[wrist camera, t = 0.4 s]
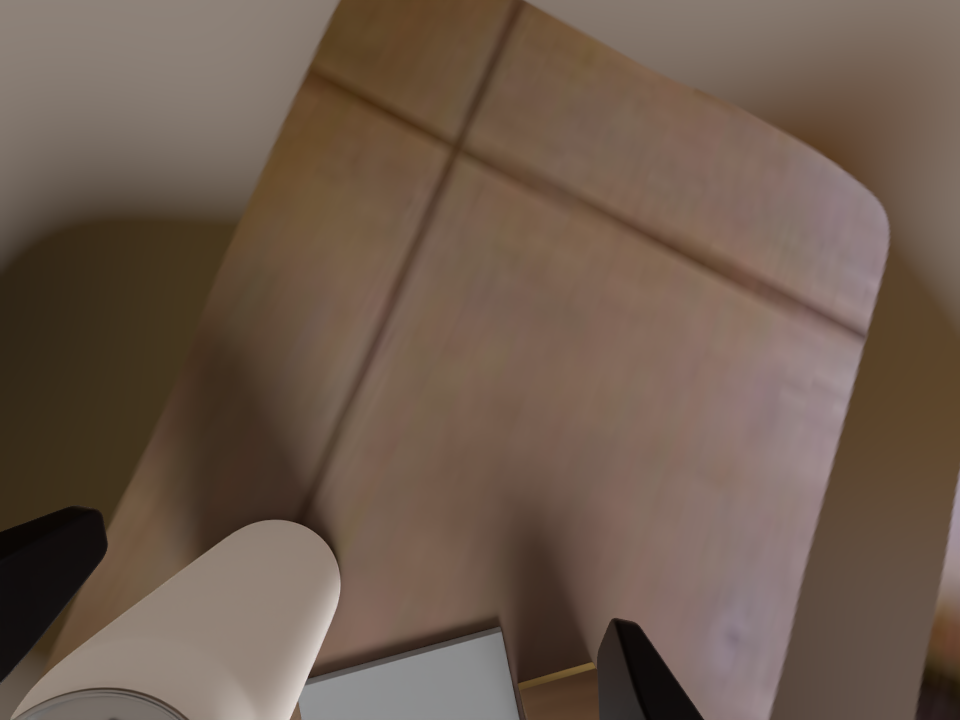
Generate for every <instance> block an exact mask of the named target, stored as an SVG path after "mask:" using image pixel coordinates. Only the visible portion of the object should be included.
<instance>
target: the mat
mask: <svg viewBox="0 0 960 720" xmlns="http://www.w3.org/2000/svg"><path fill="white" fill-rule="evenodd" d="M298 702H299V707H300V712H301V717H302V720H519V715H518V710H517V705H516V700H515V696H514V691H513V686H512V681H511V676H510V671H509V666H508V661H507V656H506V652H505V647H504V642H503V637H502V632H501V628H500V627H496V628H493V629H489V630H485V631H482V632H478V633H474V634H471V635H467V636H463V637H460V638H456V639H452V640H449V641H445V642H441V643H438V644H434V645H430V646H427V647H423V648H419V649H416V650H412V651H408V652H405V653H401V654H397V655H394V656H390V657H386V658H383V659H379V660H375V661H372V662H368V663H364V664H361V665H357V666H353V667H350V668H346V669H342V670H339V671H335V672H331V673H328V674H324V675H320V676H317V677H313V678H309V679H307V680H306V682H305V685H304V687H303V689H302V692H301V694H300V696H299V699H298Z"/></svg>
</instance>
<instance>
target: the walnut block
mask: <svg viewBox="0 0 960 720" xmlns="http://www.w3.org/2000/svg"><path fill="white" fill-rule="evenodd" d="M518 687H519V692H520V697H521V702H522V707H523V712H524V717H525V720H599V700H598V675H597V669H596V667H595V666H594V664H593V662H591V663H587V664H584V665H580V666H577V667H573V668H570V669H566V670H563V671H559V672H556V673H552V674H549V675H546V676H542V677H539V678H535V679H532V680H528V681H525V682H521V683H518Z"/></svg>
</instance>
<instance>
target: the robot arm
mask: <svg viewBox="0 0 960 720" xmlns="http://www.w3.org/2000/svg"><path fill="white" fill-rule="evenodd" d="M107 547H108V542H107V536H106V531H105V526H104V520H103V516H102V513H101V512H100V511H99V510H97V509H94V508H89V507H84V506H78V505H77V506H70V507H67V508H64V509H61V510H58V511H56V512H53V513H50V514H47V515H45V516H42V517H39V518H37V519H34V520H31V521H28V522H26V523H23V524H21V525H18V526H15V527H12V528H10V529H7V530H4V531H2V532H0V684H1V683H2V682H3V681H4V680H5V679H6V677H7V676H8V675H9V674H10V673H11V672H12V671H13V670H14V668H15V667H16V666H17V665H18V664H19V663H20V662H21V661H22V660H23V659H24V657H25V656H26V655H27V654H28V653H29V652H30V650H31V649H32V648H33V647H34V646H35V645H36V643H37V642H38V641H39V640H40V638H41V637H42V636H43V635H44V634H45V632H46V631H47V630H48V628H49V627H50V626H51V625H52V623H53V622H54V621H55V619H56V618H57V617H58V616H59V614H60V613H61V612H62V611H63V609H64V608H65V607H66V605H67V604H68V603H69V602H70V600H71V599H72V598H73V596H74V595H75V594H76V593H77V591H78V590H79V589H80V588H81V586H82V585H83V584H84V582H85V581H86V580H87V579H88V577H89V576H90V575H91V573H92V572H93V571H94V570H95V568H96V567H97V566H98V564H99V563H100V562H101V560H102V559H103V557H104V556H105V554H106V551H107ZM597 675H598V700H599V720H704V719H703V717H702V716H701V714H700V713H699V712H698V710H697V709H696V707H695V706H694V704H693V703H692V701H691V700H690V698H689V697H688V696H687V694H686V693H685V691H684V690H683V688H682V687H681V685H680V684H679V682H678V681H677V680H676V678H675V677H674V675H673V674H672V672H671V671H670V669H669V668H668V666H667V665H666V664H665V662H664V661H663V659H662V658H661V656H660V655H659V653H658V652H657V650H656V649H655V648H654V646H653V645H652V643H651V642H650V640H649V639H648V637H647V636H646V634H645V633H644V632H643V630H642V629H641V627H640V626H639V625H638V624H637V623H635V622H633V621H628V620H623V619H618V618H614V619H612V620H611V621H610V623H609V625H608V628H607V630H606V633H605V635H604V638H603V640H602V643H601V645H600V647H599V651H598V657H597Z"/></svg>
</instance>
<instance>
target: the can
mask: <svg viewBox="0 0 960 720" xmlns="http://www.w3.org/2000/svg"><path fill="white" fill-rule="evenodd" d="M339 595H340V573H339V568H338V564H337V561H336V559H335V557H334V555H333V553H332V551H331V549H330V548H329V546H328V545H327V544H326V542H325V541H324V540H323V539H322V538H321V537H320V536H319V535H317V534H316V533H315V532H313V531H312V530H310V529H309V528H307V527H305V526H303V525H300V524H298V523H294V522H291V521H285V520H265V521H260V522H256V523H253V524H250V525H247V526H245V527H243V528H241V529H239V530H237V531H235V532H234V533H232V534H231V535H229V536H228V537H226V538H225V539H224V540H222V541H221V542H219V543H218V544H217V545H215V546H214V547H212V548H211V549H210V550H208V551H207V552H206V553H204V554H203V555H202V556H200V557H199V558H197V559H196V560H195V561H193V562H192V563H191V564H189V565H188V566H187V567H185V568H184V569H183V570H181V571H180V572H178V573H177V574H176V575H174V576H173V577H172V578H170V579H169V580H168V581H166V582H165V583H164V584H162V585H161V586H160V587H158V588H157V589H156V590H154V591H153V592H152V593H150V594H149V595H147V596H146V597H145V598H143V599H142V600H141V601H139V602H138V603H137V604H135V605H134V606H133V607H131V608H130V609H129V610H127V611H126V612H125V613H123V614H122V615H121V616H119V617H118V618H117V619H115V620H114V621H113V622H111V623H110V624H109V625H107V626H106V627H105V628H103V629H102V630H101V631H99V632H98V633H97V634H95V635H94V636H93V637H91V638H90V639H89V640H87V641H86V642H85V643H83V644H82V645H81V646H80V647H78V648H77V649H76V650H74V651H73V652H72V653H71V654H69V655H68V656H67V657H66V658H64V659H63V660H62V661H61V662H59V663H58V664H57V665H56V666H55V667H53V668H52V669H51V670H50V671H49V672H48V673H47V674H46V675H45V676H44V677H43V678H41V679H40V680H39V681H38V682H37V683H36V685H35V686H34V687H33V688H32V689H31V690H30V691H29V693H28V694H27V695H26V696H25V698H24V699H23V700H22V702H21V703H20V705H19V706H18V707H17V709H16V711H15V712H14V713H13V715H12V717H11V718H10V720H290V717H291V715H292V713H293V710H294V708H295V706H296V703H297V701H298V699H299V696H300V694H301V692H302V689H303V687H304V685H305V682H306V680H307V678H308V675H309V673H310V671H311V668H312V666H313V663H314V661H315V659H316V656H317V654H318V652H319V649H320V647H321V645H322V642H323V640H324V637H325V635H326V633H327V630H328V628H329V625H330V623H331V621H332V618H333V616H334V613H335V610H336V607H337V604H338V600H339Z"/></svg>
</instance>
